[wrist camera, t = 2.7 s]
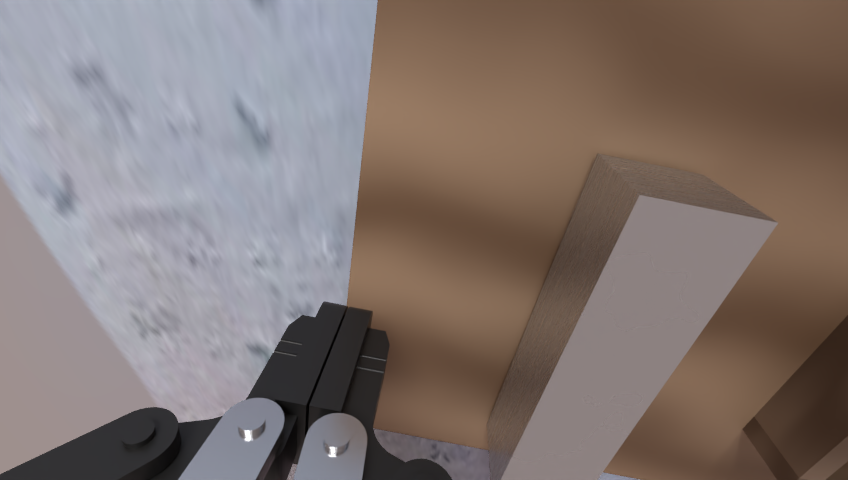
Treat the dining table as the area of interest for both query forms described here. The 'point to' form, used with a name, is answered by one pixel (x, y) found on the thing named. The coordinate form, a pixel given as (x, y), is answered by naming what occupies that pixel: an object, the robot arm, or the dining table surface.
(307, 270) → the dining table surface
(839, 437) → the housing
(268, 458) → the robot arm
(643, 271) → the bar
